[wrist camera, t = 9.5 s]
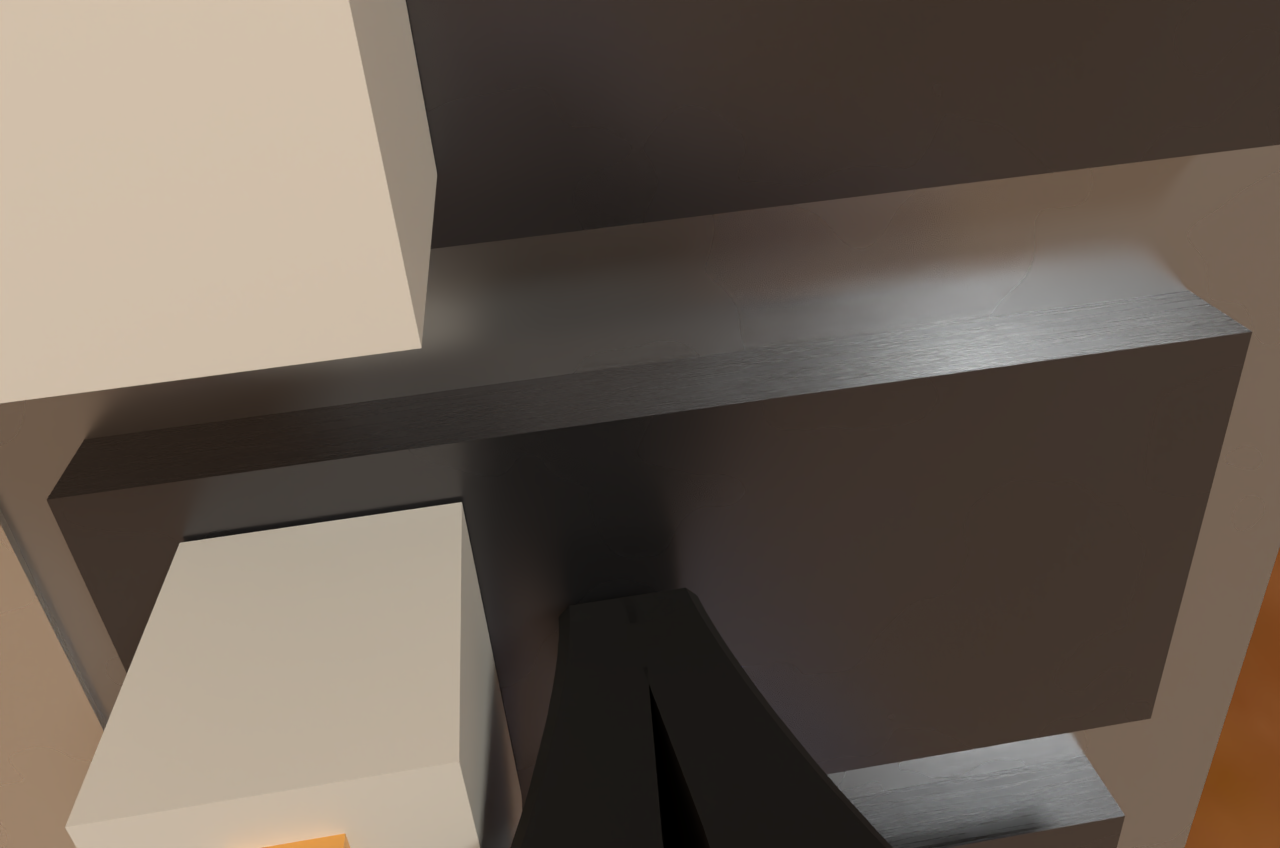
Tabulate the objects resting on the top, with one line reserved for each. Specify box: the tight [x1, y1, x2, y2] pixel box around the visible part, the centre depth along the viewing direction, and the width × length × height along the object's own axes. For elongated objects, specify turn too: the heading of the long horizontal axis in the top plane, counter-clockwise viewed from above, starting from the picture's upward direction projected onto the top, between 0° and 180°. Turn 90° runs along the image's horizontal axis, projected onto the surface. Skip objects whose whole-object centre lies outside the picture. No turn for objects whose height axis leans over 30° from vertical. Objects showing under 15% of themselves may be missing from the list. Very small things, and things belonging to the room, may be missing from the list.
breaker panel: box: [0, 0, 1280, 848], centre depth 11 cm, size 20×17×2 cm
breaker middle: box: [65, 502, 522, 848], centre depth 9 cm, size 4×2×3 cm, turn 4°
